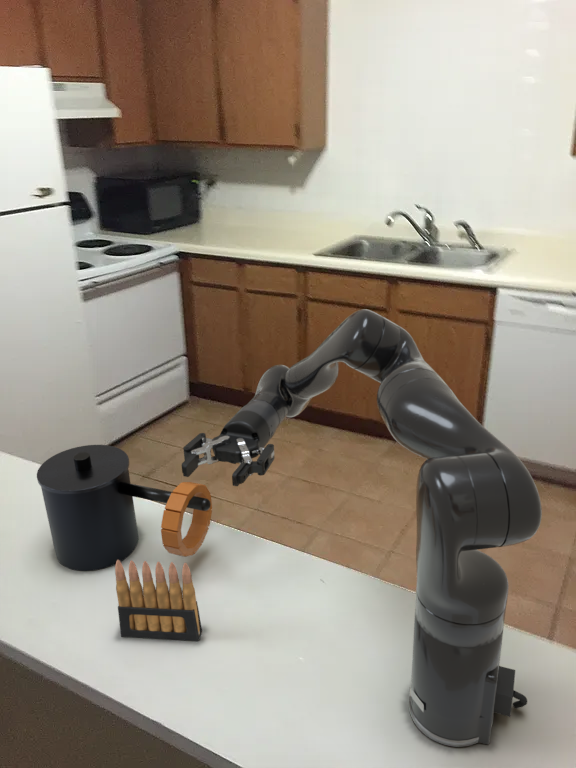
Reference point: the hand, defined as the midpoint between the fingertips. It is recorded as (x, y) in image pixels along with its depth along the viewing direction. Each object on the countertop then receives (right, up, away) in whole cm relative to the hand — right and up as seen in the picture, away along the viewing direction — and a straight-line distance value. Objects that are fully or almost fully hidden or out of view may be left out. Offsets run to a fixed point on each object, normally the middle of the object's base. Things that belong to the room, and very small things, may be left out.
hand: (209, 476), depth 103 cm
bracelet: (-3, -10, -3) cm, 11 cm away
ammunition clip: (-5, -19, -13) cm, 24 cm away
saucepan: (-12, -12, +2) cm, 17 cm away
